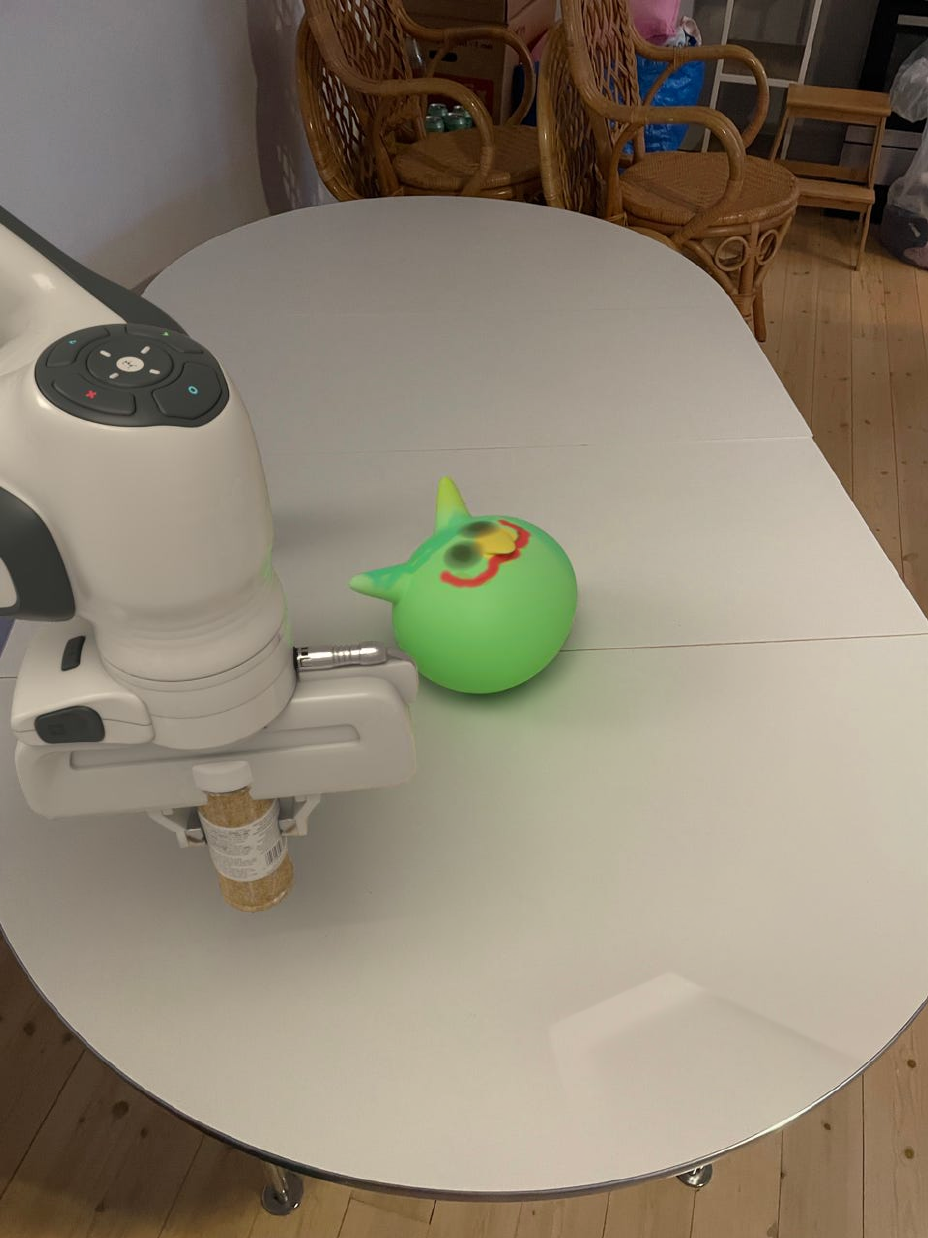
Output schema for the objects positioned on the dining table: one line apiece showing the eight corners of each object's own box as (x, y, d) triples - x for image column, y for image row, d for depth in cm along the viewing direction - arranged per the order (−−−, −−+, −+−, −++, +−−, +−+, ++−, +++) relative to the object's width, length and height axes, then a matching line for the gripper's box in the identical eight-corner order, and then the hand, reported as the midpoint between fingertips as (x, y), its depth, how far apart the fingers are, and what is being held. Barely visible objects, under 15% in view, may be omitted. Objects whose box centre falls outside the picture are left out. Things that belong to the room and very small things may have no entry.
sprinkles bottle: (256, 839, 66) (221, 691, 56) (311, 875, 64) (283, 727, 55) (203, 891, 63) (157, 744, 54) (258, 930, 61) (220, 784, 52)
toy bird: (516, 752, 89) (519, 626, 80) (353, 685, 96) (337, 561, 86) (601, 627, 101) (613, 503, 91) (450, 575, 107) (446, 454, 97)
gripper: (410, 598, 54) (420, 771, 63) (1, 633, 52) (73, 805, 61) (422, 686, 49) (430, 858, 58) (-28, 727, 47) (55, 898, 57)
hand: (244, 832), depth 60 cm, fingers closed on sprinkles bottle, 4 cm apart
